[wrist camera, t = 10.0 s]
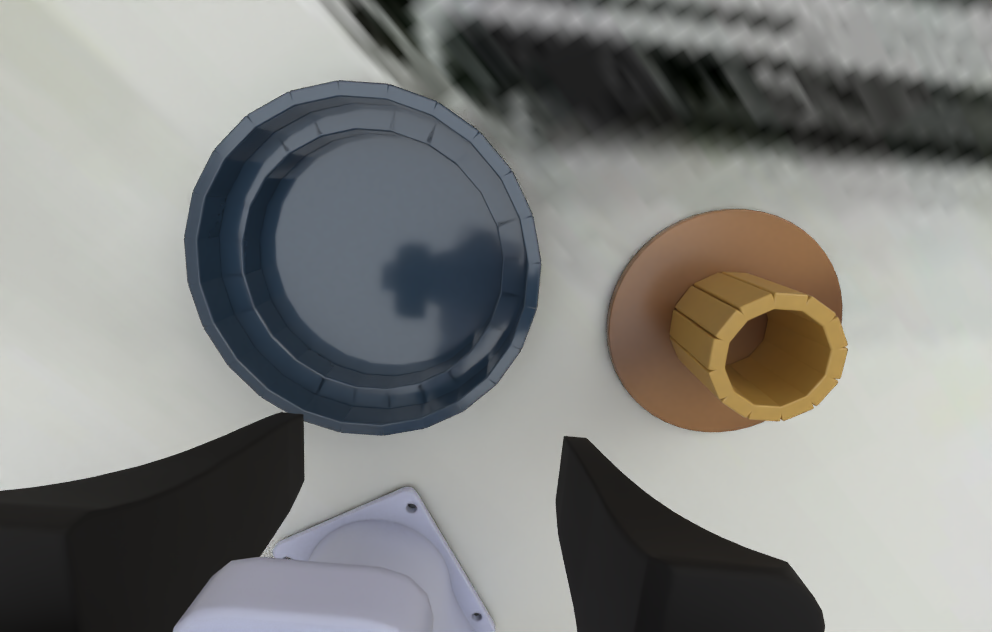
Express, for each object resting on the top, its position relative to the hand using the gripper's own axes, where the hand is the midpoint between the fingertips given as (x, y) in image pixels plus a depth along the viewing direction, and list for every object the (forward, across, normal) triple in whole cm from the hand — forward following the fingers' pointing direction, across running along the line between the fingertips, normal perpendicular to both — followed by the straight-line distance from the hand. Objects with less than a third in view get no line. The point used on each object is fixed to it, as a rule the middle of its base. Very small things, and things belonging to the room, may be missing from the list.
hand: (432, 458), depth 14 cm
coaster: (+9, -11, -2) cm, 15 cm away
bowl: (+9, +4, -4) cm, 11 cm away
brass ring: (+9, -11, -2) cm, 15 cm away
